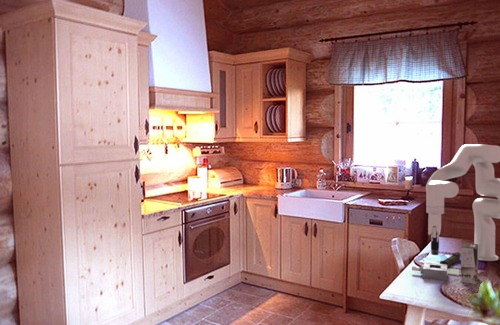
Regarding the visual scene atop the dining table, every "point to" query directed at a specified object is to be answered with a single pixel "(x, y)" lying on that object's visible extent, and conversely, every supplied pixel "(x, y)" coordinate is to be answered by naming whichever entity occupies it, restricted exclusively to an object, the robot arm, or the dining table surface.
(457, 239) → the dining table surface
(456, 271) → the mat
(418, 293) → the dining table surface
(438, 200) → the robot arm
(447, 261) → the hand tool
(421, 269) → the chuck
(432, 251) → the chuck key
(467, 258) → the coffee box
